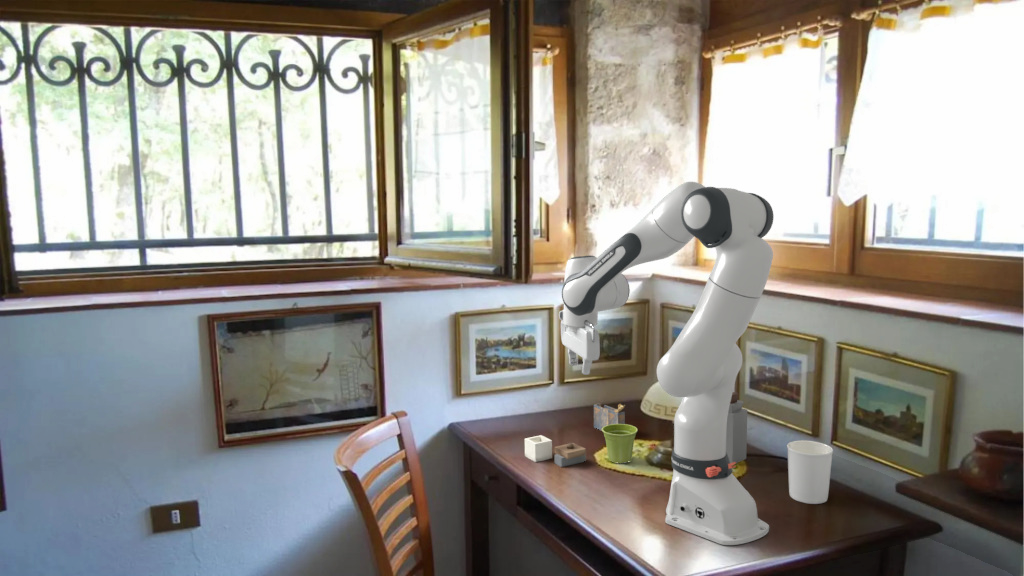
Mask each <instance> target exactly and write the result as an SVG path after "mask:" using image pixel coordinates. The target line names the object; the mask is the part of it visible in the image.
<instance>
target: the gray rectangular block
mask: <svg viewBox="0 0 1024 576" xmlns="http://www.w3.org/2000/svg"><path fill="white" fill-rule="evenodd" d="M584 461H585V462H586V461H587V454H586V455H583V456H579V457H574V458H570V459H566V458H564V457H562V456H560V455H558V454H556V453H555V454H554V464H555V465H557V466H558V467H560V468H564V467H567V466H568V467H569V466H572V465H576V464H580V463H584Z"/></svg>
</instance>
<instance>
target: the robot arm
mask: <svg viewBox="0 0 1024 576" xmlns="http://www.w3.org/2000/svg"><path fill="white" fill-rule="evenodd" d="M773 222H774V211H773V208H772V206H771V204H770V202H769V201H768V200H767V199H765V198H764V197H762V196H760V195H758V194H756V193H752V192H745V191H743V190H742V191H741V190H738V189H735V188H732V187H731V188H728V187H715V186H705V185H703V184H701V183H700V182H697V181H696V182H695V181H686V182H683V183H682V184H680V185H678V186H677V187H675V188H674V189H673V190H671V192H669V193H668V194H667V195H666V196H664V197H663V198H662V199H661V200H660V201H659V202H658V203H657V204H655V206H654V207H653V208H652V209H651V210H650V211H649V212H648V213H646V215H645V216H644V217H643V218H642V219H640V221H639V222H638V223H637V224H635V225H634V226H633V227H632V228H631V229H630V230H628V231H627V232H626V233H625V234H624V235H622V236H621V237H619V238H618V239H617V240H616V241H615V242H613V243H612V244H611V245H610V246H609V247H608V248H606V249H605V250H604V251H603V252H602V253H601V254H599V256H597V257H596V256H595V255H591V254H590V255H589V254H588V255H582V256H580V255H579V256H574V257H571V258H569V259H568V260H567V263H566V265H565V270H564V280H563V281H564V282H563V285H562V289H561V299H562V303H563V309H562V310H560V311H559V313H558V319H559V320H560V340H561V343H562V345H563V346H564V347H566V348H567V353H568V354H567V355H568V358H569V365H571V366H573V367H574V366H575V367H576V366H577V365H578V357H577V356H579V357H581V358H582V362H583V363H582V366H581V367H580V368H581V369H580V370H581V374H583V375H585V376H586V375H590V373H591V367H592V364H593V361H599V358H600V355H601V353H600V351H601V350H600V349H601V348H600V346H601V345H600V344H601V343H600V334H599V331H598V330H597V329H595V326H598V322H599V321H598V313H599V312H603V311H604V312H605V311H607V310H608V311H609V310H615V309H619V308H622V307H623V306H625V305H626V303H627V302H628V299H629V297H630V292H631V291H630V284H629V281H628V279H627V277H625V275H624V274H623V272H625V271H626V270H628V269H631V268H633V267H635V266H638V265H641V264H645V263H650V262H655V261H659V260H664V259H666V258H670V257H671V256H673V255H674V254H676V253H677V252H679V251H681V250H682V249H683V248H684V247H685V246H686V245H687V244H688V243H689V242H690V241H692V239H694V237H695V238H697V240H698V241H699V242H700V243H701V244H702V245H703V246H704V247H705V248H707V249H713V248H714V249H715V250H716V251H715V252H716V258H715V262H714V265H713V268H712V269H711V272H710V274H709V276H708V279H707V281H706V283H705V286H704V289H703V291H702V293H701V295H700V298H699V300H698V302H697V305H696V307H695V309H694V311H693V312H692V314H691V316H690V318H689V319H688V321H687V322H686V324H685V325H684V326H683V328H682V329H681V331H680V333H679V335H678V336H677V338H676V339H675V341H674V342H673V343H672V345H671V347H670V348H669V349H668V351H667V352H666V353H665V354H664V355H663V356H662V357H661V358H660V360H659V361H658V363H657V366H656V377H657V380H658V381H657V382H658V384H659V386H660V387H661V388H662V390H663V391H664V392H665V393H666V394H667V395H670V396H672V397H675V398H682V399H681V401H680V404H679V406H678V408H677V409H676V411H675V414H674V419H673V421H674V422H673V424H674V425H673V429H674V430H673V436H674V437H673V448H672V450H671V457H670V458H671V467H672V469H673V470H672V477H671V484H670V491H669V498H668V502H667V506H666V508H665V513H666V515H665V519H664V520H665V521H664V522H665V523H666V524H667V525H669V526H673V527H675V528H677V529H680V530H683V531H685V532H687V533H691V534H692V535H696V536H698V537H701V538H704V539H707V540H709V541H711V542H713V543H717V544H719V545H723V546H736V545H742V544H748V543H750V542H753V541H756V540H758V539H761V538H762V537H765V536H766V535H767V534H768V533H769V531H770V525H769V524H768V523H767V522H765V521H764V520H762V519H760V518H759V517H758V507H757V504H756V501H755V499H754V497H753V496H752V495H751V494H750V493H749V491H748V490H746V488H745V487H744V486H743V485H742V483H741V482H739V480H738V479H737V477H736V476H735V475H734V474H733V468H736V467H737V466H736V464H737V463H736V462H733V463H730V461H729V457H728V454H727V453H726V428H727V416H728V411H729V406H730V402H731V397H732V393H733V392H734V387H735V383H736V381H737V377H738V374H739V372H740V370H741V368H742V366H743V361H744V360H743V353H742V350H741V349H740V347H739V346H738V345H737V344H736V343H737V341H738V340H739V339H740V337H741V336H743V334H744V333H745V332H746V330H747V329H748V326H749V324H750V322H751V320H752V317H753V315H754V313H755V310H756V308H757V306H758V303H759V301H760V299H761V297H762V295H763V292H764V290H765V287H766V284H767V281H768V278H769V276H770V272H771V267H772V262H773V259H774V258H773V257H774V251H773V248H772V247H771V245H770V244H769V243H768V242H767V241H766V240H765V239H763V238H764V237H765V236H767V234H768V233H769V232H770V230H771V228H772V226H773V224H774V223H773Z"/></svg>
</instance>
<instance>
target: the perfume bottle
mask: <svg viewBox="0 0 1024 576" xmlns="http://www.w3.org/2000/svg"><path fill="white" fill-rule="evenodd" d="M738 396H739V393H738V392H734V391H733V393H732V397H731V402H730V406H729V411H728V416H727V428H726V453H727V454H728V457H729V461H730V463H733V462H736V464H738V463H740V462H742V461H744V460H746V459H747V448H748V447H747V444H748V441H747V440H748V439H747V438H748V409H747V408H746V409H745V408H743V405H744V401H743V400H739V399H738Z"/></svg>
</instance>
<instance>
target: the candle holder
mask: <svg viewBox="0 0 1024 576" xmlns="http://www.w3.org/2000/svg"><path fill="white" fill-rule="evenodd" d="M786 448H787V449H786V450H787V469H788V471H787V473H788V493H789V497H790V498H791V499H793V500H795V501H796V502H800V503H802V504H803V503H804V504H810V505H818V504H823V503H826V502H827V501H828V498H829V491H830V482H831V470H832V462H833V460H832V459H833V454H834V449H833V448H832V446H830V445H828V444H826V443H822V442H819V441H816V440H815V441H814V440H805V439H804V440H794V441H790V442H788V443H787V445H786Z"/></svg>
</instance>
